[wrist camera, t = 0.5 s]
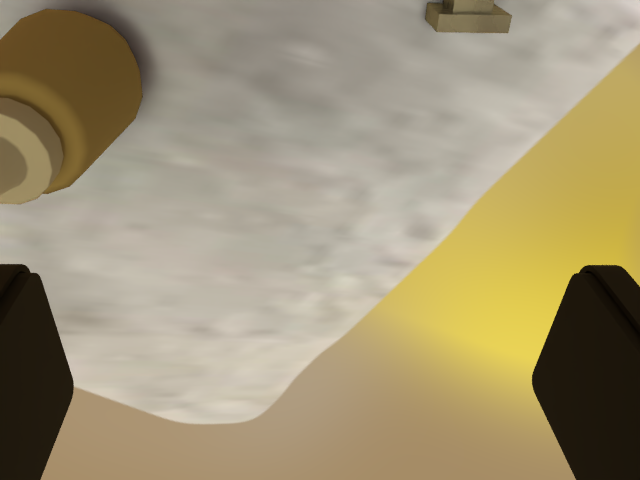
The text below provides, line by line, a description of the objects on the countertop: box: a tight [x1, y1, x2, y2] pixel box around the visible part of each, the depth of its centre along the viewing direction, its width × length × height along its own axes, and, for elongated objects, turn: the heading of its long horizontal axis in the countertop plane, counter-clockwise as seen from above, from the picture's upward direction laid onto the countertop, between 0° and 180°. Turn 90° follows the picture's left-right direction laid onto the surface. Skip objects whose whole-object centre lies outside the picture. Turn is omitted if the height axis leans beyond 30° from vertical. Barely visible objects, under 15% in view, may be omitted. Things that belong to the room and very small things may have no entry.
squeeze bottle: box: [0, 9, 143, 204], centre depth 28 cm, size 8×8×18 cm
